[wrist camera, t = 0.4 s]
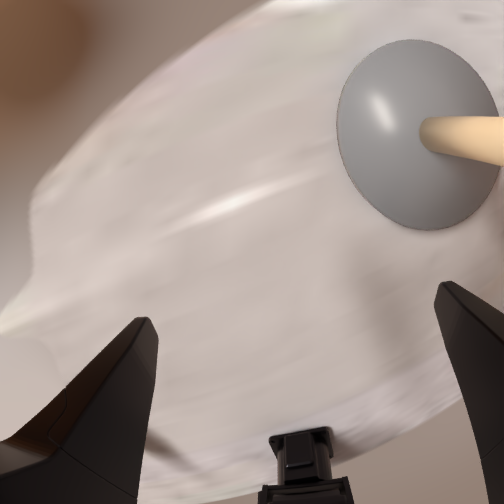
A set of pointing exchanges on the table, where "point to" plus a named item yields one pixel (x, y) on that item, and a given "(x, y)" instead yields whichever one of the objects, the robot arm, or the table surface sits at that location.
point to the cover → (420, 134)
